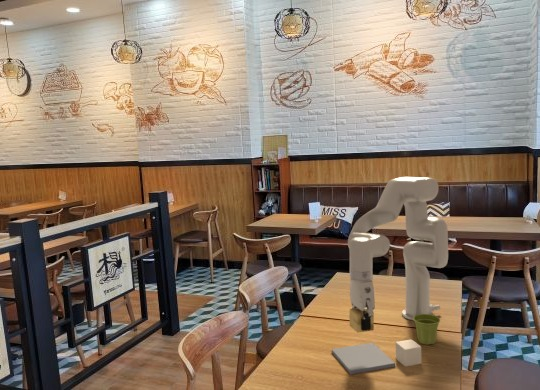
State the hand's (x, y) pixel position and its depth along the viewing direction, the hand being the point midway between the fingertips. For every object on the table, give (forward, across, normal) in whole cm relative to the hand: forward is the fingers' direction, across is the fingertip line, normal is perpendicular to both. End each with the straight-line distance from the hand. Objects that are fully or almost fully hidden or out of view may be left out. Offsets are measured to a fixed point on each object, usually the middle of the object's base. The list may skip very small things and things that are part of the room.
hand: (361, 325), depth 157 cm
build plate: (+12, 0, 0) cm, 12 cm away
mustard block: (+1, 0, 0) cm, 1 cm away
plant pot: (+12, +5, -28) cm, 31 cm away
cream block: (+12, -6, -14) cm, 20 cm away
